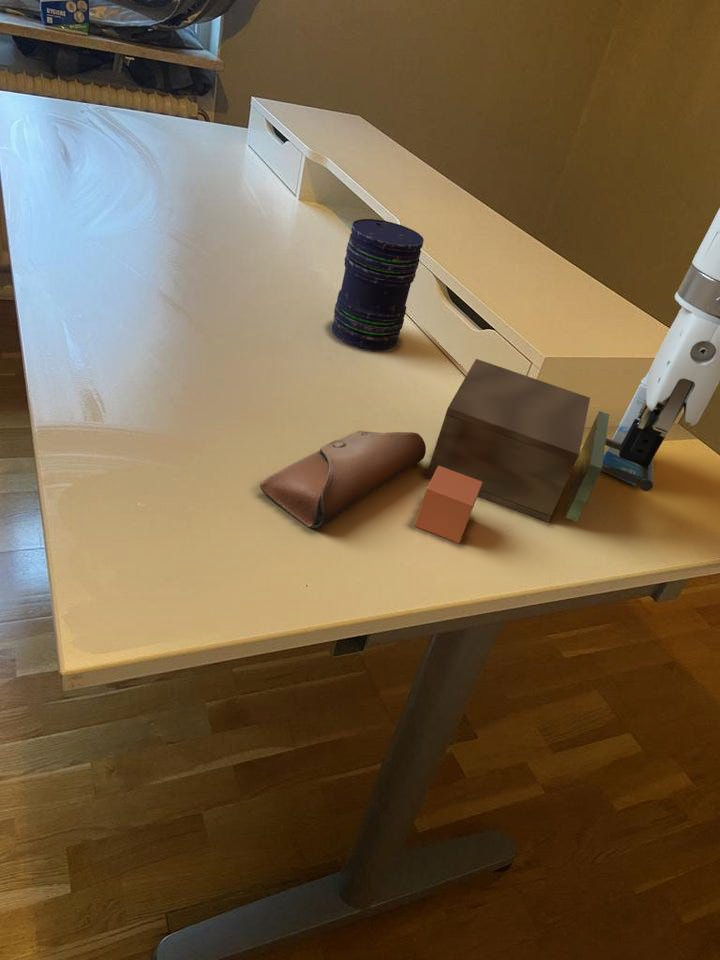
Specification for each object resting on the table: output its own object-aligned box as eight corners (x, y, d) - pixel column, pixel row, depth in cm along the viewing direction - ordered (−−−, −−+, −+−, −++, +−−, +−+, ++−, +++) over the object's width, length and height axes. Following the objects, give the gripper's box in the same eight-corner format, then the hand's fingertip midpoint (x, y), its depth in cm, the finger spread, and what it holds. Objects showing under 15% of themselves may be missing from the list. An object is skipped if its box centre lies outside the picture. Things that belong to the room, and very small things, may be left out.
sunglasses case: (361, 426, 83) (398, 396, 79) (397, 477, 83) (436, 449, 79) (252, 486, 70) (288, 453, 66) (295, 547, 70) (334, 518, 65)
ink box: (636, 488, 86) (682, 401, 80) (596, 469, 88) (637, 382, 81) (651, 460, 93) (695, 377, 86) (613, 443, 94) (653, 360, 88)
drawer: (634, 480, 86) (659, 431, 82) (630, 542, 75) (659, 489, 71) (485, 427, 89) (503, 377, 85) (462, 479, 78) (481, 425, 74)
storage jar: (410, 350, 104) (438, 247, 96) (349, 353, 100) (373, 244, 91) (377, 319, 111) (401, 220, 103) (319, 320, 106) (338, 216, 98)
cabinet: (563, 459, 88) (590, 397, 83) (548, 522, 77) (579, 454, 72) (455, 421, 90) (476, 358, 86) (425, 476, 79) (447, 407, 74)
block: (469, 518, 74) (482, 481, 72) (459, 543, 71) (473, 505, 68) (426, 501, 75) (438, 465, 73) (414, 526, 71) (426, 488, 69)
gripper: (773, 338, 61) (668, 509, 71) (754, 287, 73) (666, 440, 83) (684, 307, 62) (593, 480, 72) (679, 262, 74) (602, 416, 84)
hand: (633, 458), depth 78 cm, fingers closed
